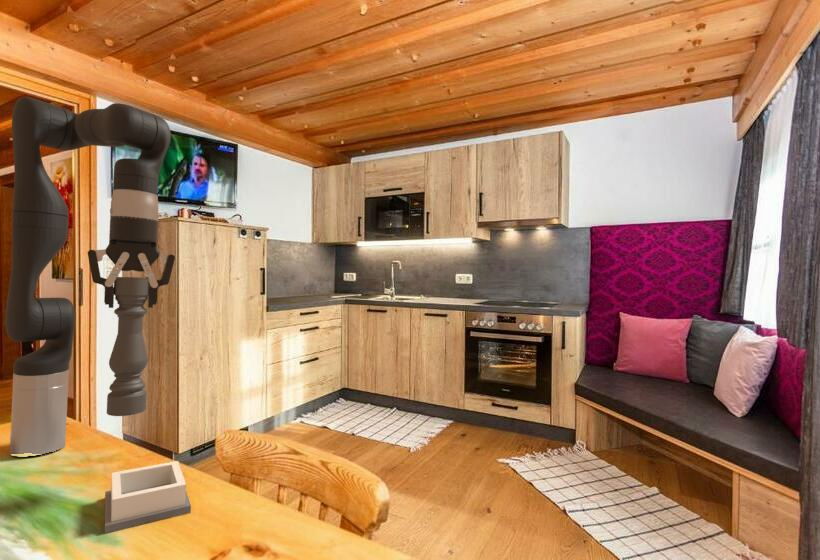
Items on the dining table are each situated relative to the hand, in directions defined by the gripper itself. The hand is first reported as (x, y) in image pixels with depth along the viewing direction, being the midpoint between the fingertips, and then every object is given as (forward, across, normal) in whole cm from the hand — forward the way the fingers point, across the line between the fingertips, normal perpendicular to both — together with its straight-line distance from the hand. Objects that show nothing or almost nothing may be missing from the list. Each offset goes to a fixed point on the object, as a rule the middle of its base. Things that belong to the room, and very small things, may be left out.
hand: (130, 307), depth 80 cm
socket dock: (+34, -3, +9) cm, 35 cm away
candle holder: (+20, 0, 0) cm, 20 cm away
